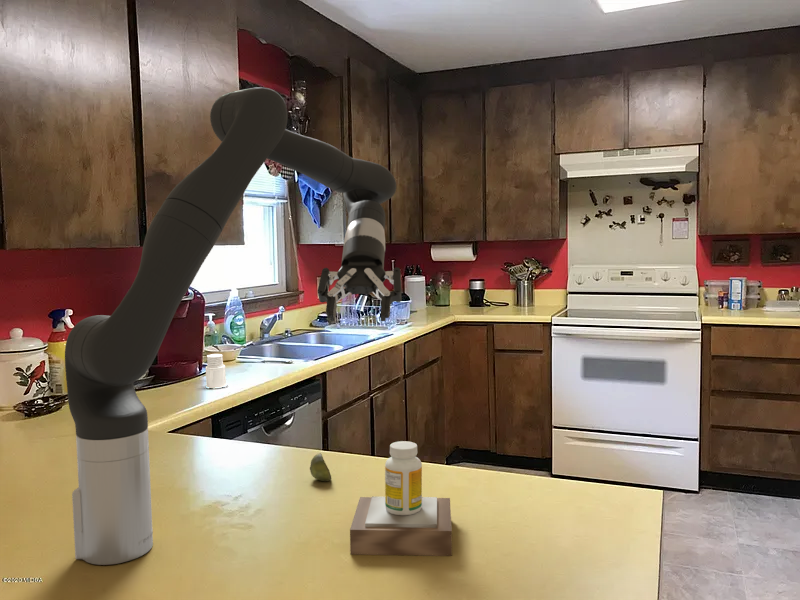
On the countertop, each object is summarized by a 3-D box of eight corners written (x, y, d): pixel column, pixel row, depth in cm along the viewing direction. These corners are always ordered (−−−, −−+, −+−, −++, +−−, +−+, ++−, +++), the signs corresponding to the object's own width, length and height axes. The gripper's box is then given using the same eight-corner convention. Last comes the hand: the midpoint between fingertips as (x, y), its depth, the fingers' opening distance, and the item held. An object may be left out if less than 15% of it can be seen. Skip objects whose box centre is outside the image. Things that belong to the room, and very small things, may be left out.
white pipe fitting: (211, 383, 209) (209, 352, 208) (232, 384, 208) (230, 352, 207) (200, 390, 201) (198, 358, 200) (222, 390, 200) (220, 358, 199)
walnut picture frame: (350, 554, 92) (349, 526, 92) (360, 518, 104) (359, 493, 103) (451, 555, 91) (451, 527, 91) (450, 519, 103) (449, 494, 103)
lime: (320, 474, 124) (319, 448, 124) (340, 479, 122) (339, 452, 121) (303, 481, 121) (303, 454, 120) (323, 486, 118) (323, 459, 118)
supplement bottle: (387, 517, 94) (386, 451, 94) (383, 503, 100) (383, 440, 99) (424, 515, 95) (424, 449, 94) (419, 501, 100) (418, 439, 99)
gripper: (322, 234, 118) (311, 304, 108) (402, 233, 117) (399, 303, 107) (327, 263, 124) (318, 332, 113) (404, 262, 123) (401, 332, 112)
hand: (357, 318), depth 110 cm, fingers open, 8 cm apart
